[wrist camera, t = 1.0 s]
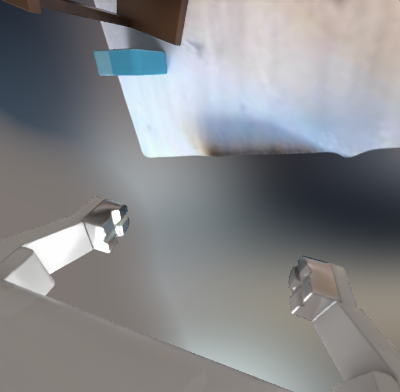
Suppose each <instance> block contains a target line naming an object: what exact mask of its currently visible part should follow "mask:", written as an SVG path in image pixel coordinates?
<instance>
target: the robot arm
mask: <svg viewBox="0 0 400 392" xmlns="http://www.w3.org/2000/svg"><path fill="white" fill-rule="evenodd" d="M127 211H128V210H127V206H126V205H124V204H121V203H118V202H114V201H111V200H108V199H105V198H101V197H98V196H96V197H93V198H92V199H91V200H90V201H89V202H88V203H87V204H85V205H84V206H83V207H82V208H81V209H79V210H78V211H77V212H76V213H75V214H74V215H73V216H71V217H70V218H69V217H65V218H62V219H59V220H56V221H54V222H51V223H48V224H45V225H42V226H39V227H36V228H33V229H30V230H27V231H24V232H21V233H18V234H15V235H12V236H10V237H6V238H4V239H2V240H1V241H0V392H292V391H290V390H288V389H285V388H282V387H280V386H277V385H275V384H272V383H269V382H267V381H264V380H262V379H259V378H256V377H254V376H251V375H249V374H246V373H244V372H241V371H238V370H236V369H233V368H230V367H228V366H226V365H223V364H220V363H218V362H215V361H213V360H210V359H207V358H205V357H202V356H200V355H197V354H195V353H192V352H189V351H187V350H184V349H182V348H179V347H176V346H174V345H171V344H169V343H166V342H163V341H161V340H158V339H156V338H153V337H151V336H148V335H145V334H143V333H140V332H138V331H135V330H132V329H130V328H127V327H124V326H122V325H119V324H117V323H114V322H112V321H109V320H107V319H103V318H101V317H98V316H96V315H94V314H91V313H88V312H86V311H83V310H80V309H78V308H75V307H73V306H70V305H68V304H65V303H63V302H60V301H57V300H55V299H52V298H50V297H47V296H45V295H46V294H47V293H48V292H49V291H50V290H51V289H52V287H53V286H54V285H55V281H54V280H53V278H52V277H51V276H50V274H51V273H53V272H54V271H56V270H58V269H60V268H61V267H63V266H65V265H67V264H68V263H70V262H72V261H74V260H75V259H77V258H79V257H81V256H82V255H84V254H86V253H88V252H90V251H91V250H93V249H97V250H100V251H103V252H106V253H110V252H111V251H112V249H113V248H114V247H115V245H116V244H117V243H118V238H119V237H121V236H123V235H124V234H125V232H126V231H127V229H128V226H129V217H128V216H127V214H126V212H127ZM289 288H290V290H291V291H292V293H293V294H292V296H291V297H290V306H291V314H293V315H296V316H299V317H302V318H304V319H307V320H310V321H313V322H312V323H313V325H314V326H315V328H316V330H317V332H318V334H319V335H320V337H321V339H322V341H323V343H324V344H325V346H326V348H327V350H328V352H329V354H330V355H331V357H332V359H333V361H334V363H335V364H336V366H337V368H338V370H339V372H340V373H341V375H342V377H343V379H344V382H342V383H339V384H336V385H334V386H332V387H331V392H400V353H399V351H398V350H397V349H396V348H395V347H394V346H393V345H392V343H391V342H390V341H389V340H388V339H387V338H386V337H385V336H384V334H383V333H382V332H381V331H380V330H379V329H378V327H377V326H376V325H375V324H374V323H373V322H372V320H371V319H370V318H369V317H368V316H367V315H366V314H365V313H364V311H363V310H362V309H359V308H357V305H356V302H355V299H354V296H353V293H352V290H351V287H350V284H349V281H348V278H347V275H346V272H345V270H344V268H343V267H341V266H337V265H333V264H330V263H327V262H323V261H320V260H316V259H312V258H309V257H305V256H302V257H301V258H300V259H299V260H298V265H297V266H295V267H293V269H292V270H291V273H290V276H289Z"/></svg>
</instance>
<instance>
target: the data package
mask: <svg viewBox="0 0 400 392" xmlns="http://www.w3.org/2000/svg"><path fill="white" fill-rule="evenodd" d="M94 56H95V60H96V64H97V68H98V72H99V75H155V74H167V69H166V57H165V52H164V51H156V50H146V49H113V50H96V51H94Z"/></svg>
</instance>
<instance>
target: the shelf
mask: <svg viewBox="0 0 400 392" xmlns="http://www.w3.org/2000/svg"><path fill="white" fill-rule="evenodd" d="M3 1H5V2H8V3H10V4H13V5H15V6H17V7H20V8H22V9H24V10H27V11H29V12H33V13H38V14H41V9H40V7H41V8H45V9H50V10H54V11H59V12H63V13H68V14H72V15H77V16H81V17H86V18H91V19H95V20H100V21H104V22H109V23H113V24H118V25H122V26H127V27H131V28H133V29H136V30H139V31H141V32H144V33H146V34H149V35H151V36H154V37H156V38H159V39H161V40H164V41H166V42H169V43H171V44H174V45H179V46H180V44H181V38H182V33H183V27H184V21H185V15H186V10H187V4H188V0H117V13H113V12H109V11H106V10H102V9H99V8H95V7H91V6H88V5H84V4H80V3H77V2H73V1H70V0H3Z"/></svg>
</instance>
